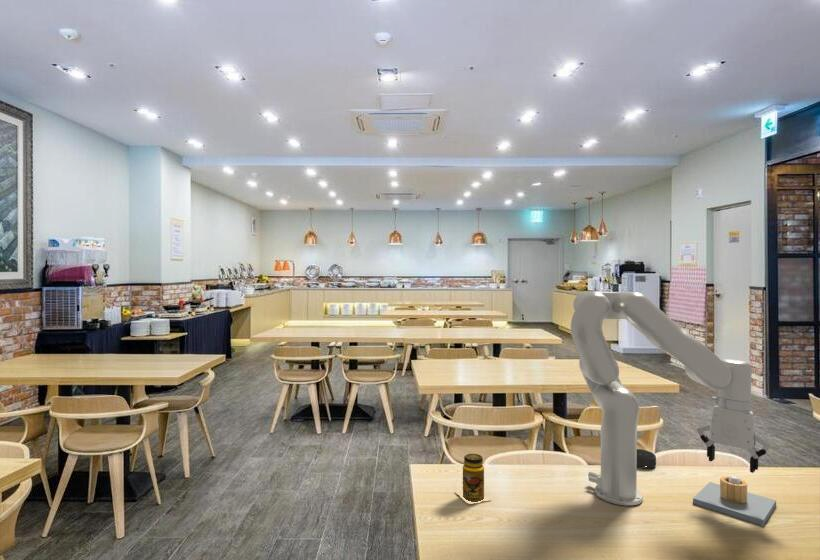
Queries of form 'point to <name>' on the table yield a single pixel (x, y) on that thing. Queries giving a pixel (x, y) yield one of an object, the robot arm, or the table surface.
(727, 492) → the ring
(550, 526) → the table surface
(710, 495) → the peg stand
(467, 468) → the condiment
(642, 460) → the smart speaker
